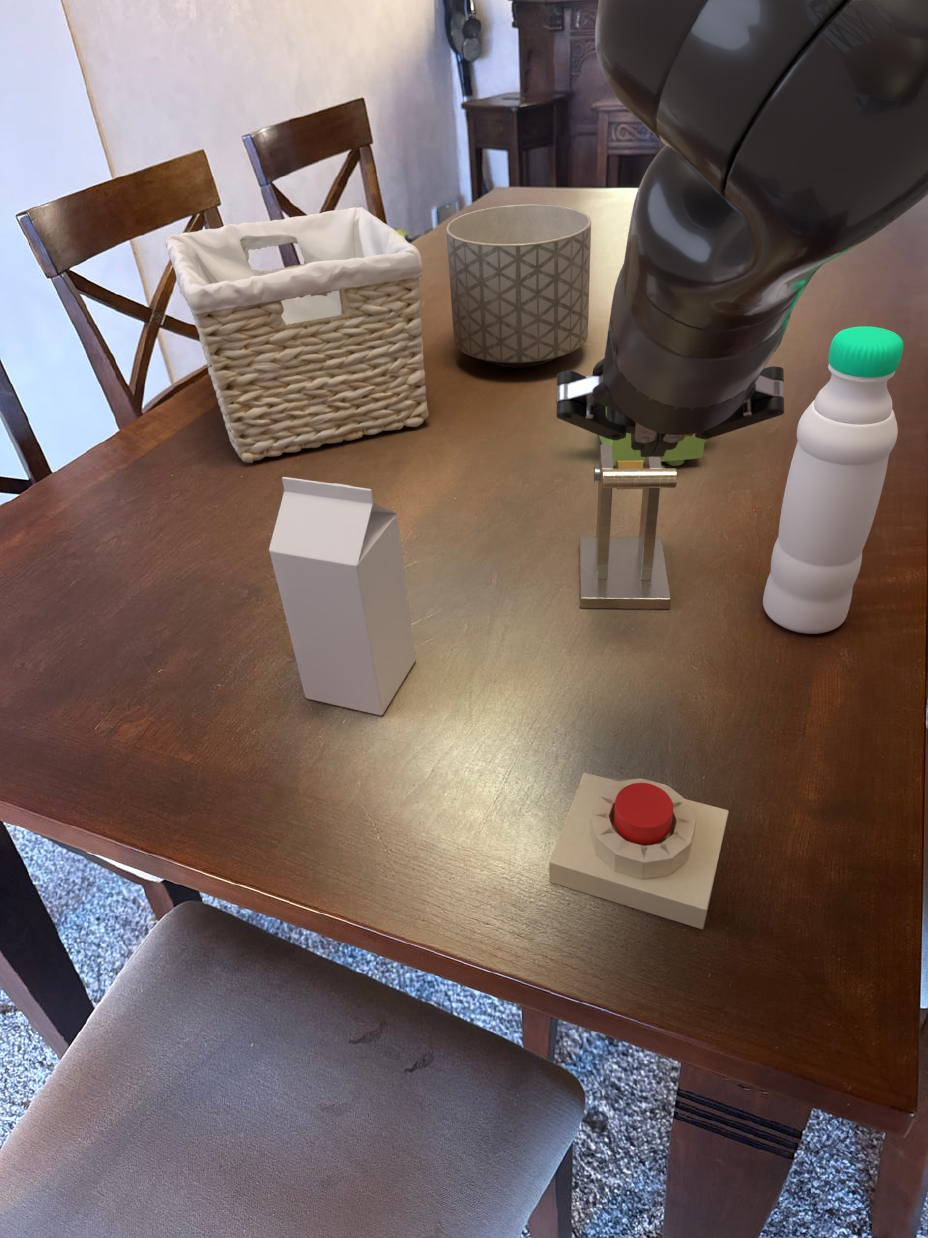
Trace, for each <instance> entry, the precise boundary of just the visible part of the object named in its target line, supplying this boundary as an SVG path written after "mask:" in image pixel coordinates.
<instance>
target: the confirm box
mask: <svg viewBox="0 0 928 1238" xmlns="http://www.w3.org/2000/svg"><path fill="white" fill-rule="evenodd" d="M634 783H648V784H652V785H655V786H657V787H659V788H661V789H662V790H664V791H665V792H666V793H667V794H668V795H669V797H670V798H671V800H672V803H673V815H672V822H671V828H670V831H669V833H668V835H667V836H666V837H665V838H664V839H663V840H661V841H660V842H658V843H655V844H650V845H641V844H636V843H633V842H630V841H628V840H627V839H625V838H624V837H623V836H622V835H620V833H619V832H618V831H617V829H616V827H615V824H614V812H615V800H616V797H617V795H618V793H619V792H620V791H621V790H622V789H623V788H624V787H626V786H628V785H630V784H634ZM729 812H730V811H729V810H728V809H726V808H721V807H717V806H713V805H710V804H706V803H703V802H698V801H694V800H692V799H687V798H684V796H682V795H680V794H679V793H678V792H677V791H676V790H674V789H673V788H671V786H670V785H668V784H664V783H661V782H658V781H653V780H650V779H645V778H641V777H639V778H632V779H627V780H626V779H625V780H615V779H611V778H607V777H604V776H600V775H596V774H593V773H589V772H583V774H582V776H581V779H580V781H579V784H578V787H577V788H576V791H575V794H574V797H573V799H572V802H571V804H570V807H569V810H568V812H567V815H566V818H565V820H564V822H563V825H562V827H561V830H560V833H559V835H558V837H557V841H556V843H555V846H554V848H553V851H552V853H551V855H550V859H549V861H548V882H550V883H552V884H554V885H558V886H562V887H564V888H568V889H571V890H574V891H578V892H580V893H583V894H587V895H590V896H593V897H596V898H600V899H604V900H607V901H609V902H612V903H616V904H619V905H622V906H625V907H628V908H632V909H635V910H639V911H642V912H645V913H648V914H652V915H654V916H657V917H661V918H664V919H667V920H671V921H673V922H677V923H680V924H684V925H687V926H690V927H693V928H697V929H699V930H704V928H705V923H706V919H707V914H708V909H709V905H710V900H711V896H712V892H713V887H714V882H715V878H716V873H717V869H718V865H719V864H718V863H719V859H720V854H721V850H722V845H723V840H724V837H725V832H726V827H727V821H728V817H729Z"/></svg>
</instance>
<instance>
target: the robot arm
mask: <svg viewBox="0 0 928 1238" xmlns="http://www.w3.org/2000/svg"><path fill="white" fill-rule="evenodd" d="M596 10H597V11H596V18H595V19H596V20H595V29H594V45H595V53H596V59H597V62H598V66H599V68H600V73H601V75H602V78H603V79H604V81H605V83H606V85H607V86H608V88H609V90H611V91H612V94H614V96H615V97H616V98H617V100H618V101H619V102H620V104H621V105H623V107H625V108H626V109H627V110H628V111H629V112H630V114H632V115H633V117H635V118H636V119H637V120H638V121H639V122H640V123H641V124H642V125H643V126H644V127H646V129H647V130H648V131H650V132H651V133H652V134H653V135H654V136H655V137H656V138H657V139H659V140H660V141H661V143H663V147H662V148H661V149H660V150H659V151H658V152H657V154H655V156H654V158H653V159H652V161H651V162H650V163H649V165H648V167H647V169H646V171H645V172H644V174H643V177H642V179H641V181H640V183H639V186H638V189H637V192H636V194H635V198H634V201H633V206H632V211H631V216H630V222H629V228H628V233H627V239H626V246H625V252H624V260H623V264H622V266H621V268H620V271H619V273H618V276H617V279H616V283H615V285H614V290H613V294H612V300H611V301H612V302H611V308H610V315H609V321H608V329H607V336H606V343H605V351H604V358H602V359H601V360H599V361H597V363H596V364H595V365H594V367H593V369H592V374H587V375H583V374H581V373H579V372H577V371H575V370H563V371H560V372H558V373H557V374H556V388H555V389H556V392H555V394H556V399H555V402H556V403H555V404H556V418H557V419H559V420H561V421H563V422H565V423H568V424H570V425H573V426H576V427H578V428H581V429H583V430H586V431H588V432H590V433H592V434H595V435H598V436H599V435H600V436H602V437H605V438H607V439H611V440H620V439H623V438H625V437H626V433H630V434H631V448H632V449H633V450H640V453H641V457H664V454H665V452H666V450H672V449H674V448H676V446H677V444H678V442H679V441H682V440H683V439H684V438H685V436H692V435H693V434H694V433H695V437H696V438H700V439H705V440H709V439H711V438H715V437H719V436H722V435H724V434H727V433H730V432H734V431H737V430H740V429H743V428H746V427H749V426H752V425H756V424H758V423H761V422H764V421H767V420H771V419H774V418H778V417H779V416H782V415H784V414H785V381H784V380H785V377H784V375H785V373H784V372H785V371H784V368H783V367H781V366H775V365H774V366H773V365H772V366H768V367H766V366H767V364H768V363H769V361H770V360H771V358H772V357H773V355H774V354H775V353H776V351H777V350H778V348H779V347H780V346H781V343H782V341H783V338H784V336H785V333H786V330H787V328H788V325H789V322H790V319H791V315H792V312H793V309H794V308H795V306H796V304H797V303H798V301H799V300H800V297H801V296H802V294H803V292H804V291H805V289H806V287H807V285H808V284H809V282H810V281H811V279H812V278H813V276H814V275H815V274H816V273H817V272H818V270H819V269H820V268H821V267H822V266H823V265H825V264H826V263H829V262H830V261H832V260H834V259H836V258H837V257H839V256H841V255H842V254H844V253H846V252H848V251H849V250H852V249H853V248H855V247H856V246H858V245H860V244H862V243H863V242H865V241H867V240H868V239H870V238H871V237H873V236H875V235H876V234H878V233H879V232H880V231H882V230H883V229H885V228H887V227H888V226H889V225H890V224H892V223H893V222H894V221H896V220H897V219H898V218H900V217H901V216H903V215H905V213H907V211H909V210H911V209H912V208H913V207H914V206H915V205H917V204H918V203H920V202H921V201H922V200H923V199H924V198H925V197H926V196H928V0H598V3H597V9H596ZM606 407H607V414H606Z"/></svg>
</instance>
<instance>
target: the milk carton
mask: <svg viewBox="0 0 928 1238" xmlns="http://www.w3.org/2000/svg"><path fill="white" fill-rule="evenodd" d="M281 482H282V487H283V494H282V499H281V502H280V505H279V510H278V514H277V517H276V521H275V524H274V529H273V532H272V536H271V540H270V542H269V543H270V544H269V547H268V552H269V555H270V559H271V563H272V568H273V572H274V576H275V579H276V583H277V587H278V591H279V595H280V599H281V604H282V607H283V612H284V617H285V620H286V624H287V628H288V632H289V636H290V641H291V644H292V645H291V646H292V648H293V653H294V656H295V661H296V665H297V669H298V672H299V677H300V682H301V684H302V689H303V693H304V697H305V698H306V699H308V700H311V701H316V702H319V703H325V704H329V705H334V706H337V707H341V708H345V709H346V708H347V709H351V710H355V711H359V712H364V713H368V714H371V715H376V716H377V715H378V716H383V715H384V713H385V711H386V710H387V708H388V707H389V705H390V703H391V702H392V700H393V698H394V697H395V695H396V694H397V692H398V690H399V689H400V687H401V685H402V684H403V682H404V680H405V679H406V677H407V675H408V674H409V672H410V670H411V668H413V665H414V664H415V662H416V661H417V657H416V656H417V655H416V647H415V639H414V633H413V624H412V617H411V616H412V615H411V610H410V609H411V608H410V601H409V594H408V586H407V577H406V572H405V571H406V570H405V562H404V555H403V546H402V539H401V532H400V531H401V529H400V523H399V517H398V512H396V511H394V510H392V509H389V508H387V507H385V506H382V505H380V504H377V503H376V502H374V497H373V491H372V489H371V488H366V487H359V486H353V485H348V484H344V483H335V482H333V483H330V482H324V481H317V480H309V479H301V478H295V477H289V476H283V477H282V478H281Z"/></svg>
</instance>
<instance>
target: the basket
mask: <svg viewBox="0 0 928 1238" xmlns="http://www.w3.org/2000/svg"><path fill="white" fill-rule="evenodd" d="M164 241H165V247H166V250H167V251H166V252H167V255H168V259H169V261H170V262H171V264H172V268H173V270H174V273H175V278H176V279H175V280H176V282H177V285H178V288H179V293H180V295H182V297H183V298H184V301H186V305H187V306H188V307H189V309H190V312H191V315H192V317H193V321H194V326H195V328H196V330H197V334H198V335H199V342H200V344H201V349H202V351H203V355H204V358H205V361H206V365H207V371H208V375H209V376H210V379H211V382H212V386H213V389H214V391H215V397H216V399H217V402H218V406H219V408H220V413H221V414H222V418H223V421H224V426H225V429H226V431H227V435H228V438H229V442H230V444H231V446H232V447H233V448H234V451H235V453H236V454H237V455H238V457H239V458H240V460H242V462H243V463H246V464H252V463H253V462H255V461H260V460H263V459H264V458H265V457H279V456H281V455H282V454H283V453H297V452H301V451H302V449H318V448H320V447H321V446H322V445H324V444H337V443H342V442H343V441H354V440H356V439H361V438H362V437H363V436H364V435H366V436H372V435H376V434H379V433H382V432H383V431H384V432H387V431H396V430H397V431H399V430H402V429H403V428H404V426H405V427H408V428H416V427H419V426H421V425H423V423H424V422H425V420H427V418H429V416H430V412H429V409H428V401H427V388H426V385H425V383H426V379H425V378H426V371H425V369H424V367H425V364H424V363H425V362H424V360H425V356H424V342H423V337H422V336H421V335H422V334H423V323H422V318H421V315H422V311H421V291H420V278H421V277H423V272H422V271H423V262H422V257H421V252H420V251H419V250H418V248H417V247H416V246H415V245H413V244H412V243H410V242H409V241H407V240H406V238H405V237H404V236H403V235H401V234H399V233H398V232H397V231H396V229H394V228H392V227H391V226H389V224H387V223H385V222H383V221H382V220H381V219H380V218H378V217H377V216H375V215H373V214H372V213H371V212H370V211H369V210H366V209H365V207H363V206H358V207H357V206H353V207H349V208H343V209H334V210H327V211H322V212H320V213H311V214H307V215H300V216H299V215H297V216H292V217H286V218H283V219H273V220H269V221H267V220H266V221H264V220H263V221H261V220H259V221H254V222H247V221H246V222H240V223H237V224H234V223H230V224H229V223H228V224H225V225H223V226H221V227H218V228H206V229H199V230H198V231H190V232H182V233H179V234H178V233H175V234H173V233H172V234H170V235H167V237H166V239H165V240H164ZM286 244H287V245H288V244H297V245H298V247H299V250H300V253H301V255H302V257H303V258H302V259H304V261H303V262H304V263H301V264H297V265H296V264H294V265H289V266H287V267H279V268H277V267H276V268H275V269H274V268H273V269H261V270H260V269H253V268H252V266H251V264H250V263H249V259H250V255H249V251H250V250H251V251H253V250H261V249H263V248H264V249H265V248H269V247H270V248H271V247H277V246H283V245H286Z"/></svg>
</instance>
